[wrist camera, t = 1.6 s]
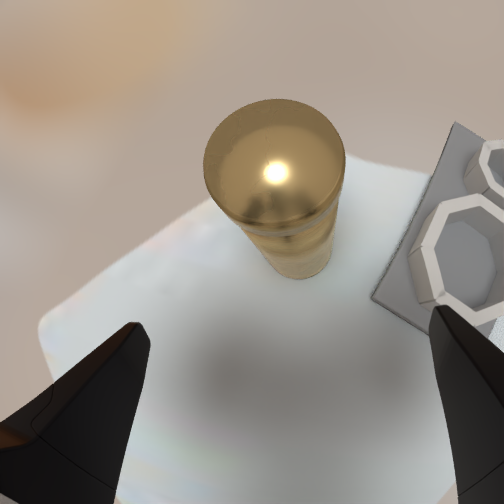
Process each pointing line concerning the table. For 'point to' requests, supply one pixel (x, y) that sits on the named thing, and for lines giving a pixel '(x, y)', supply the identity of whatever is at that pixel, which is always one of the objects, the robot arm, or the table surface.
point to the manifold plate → (454, 240)
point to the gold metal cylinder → (279, 181)
